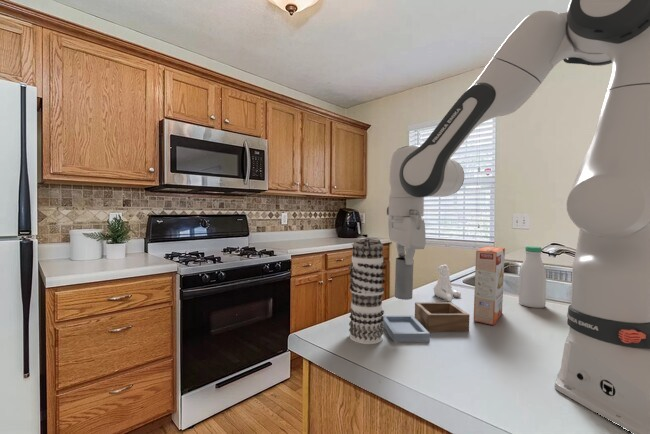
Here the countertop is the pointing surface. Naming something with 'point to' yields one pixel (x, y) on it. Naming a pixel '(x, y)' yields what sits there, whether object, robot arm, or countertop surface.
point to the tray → (405, 329)
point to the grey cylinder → (403, 279)
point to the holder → (441, 317)
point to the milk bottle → (532, 279)
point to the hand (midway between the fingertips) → (404, 262)
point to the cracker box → (489, 284)
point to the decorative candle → (367, 291)
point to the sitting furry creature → (445, 285)
